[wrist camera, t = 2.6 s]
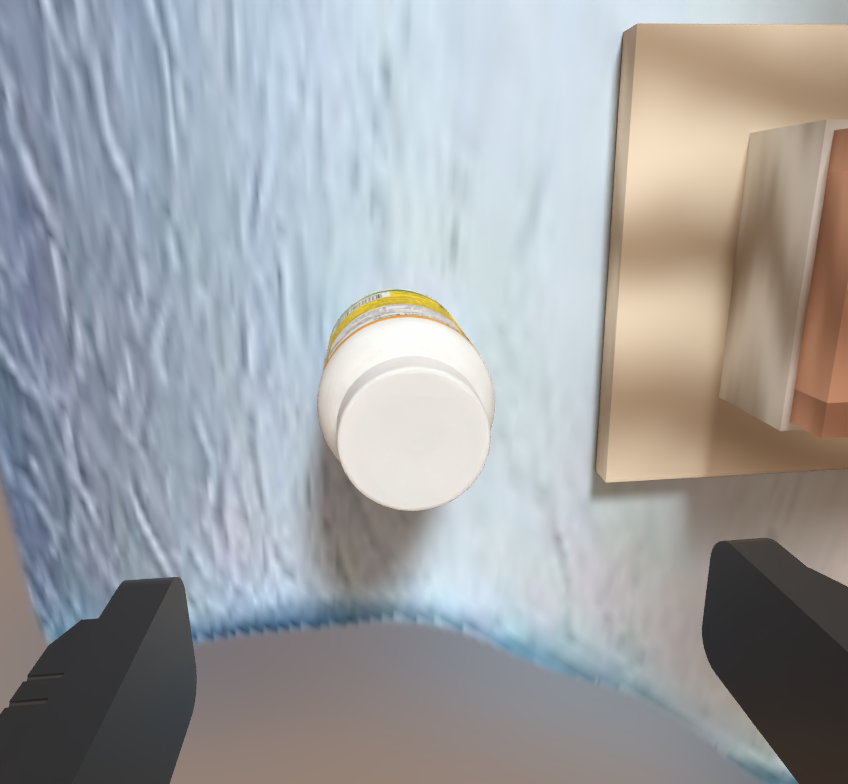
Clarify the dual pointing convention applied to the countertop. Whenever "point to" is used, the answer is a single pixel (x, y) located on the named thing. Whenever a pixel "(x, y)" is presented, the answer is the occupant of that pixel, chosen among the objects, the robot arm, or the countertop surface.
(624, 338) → the tower base
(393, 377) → the supplement bottle
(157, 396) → the countertop surface
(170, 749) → the robot arm
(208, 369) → the countertop surface
